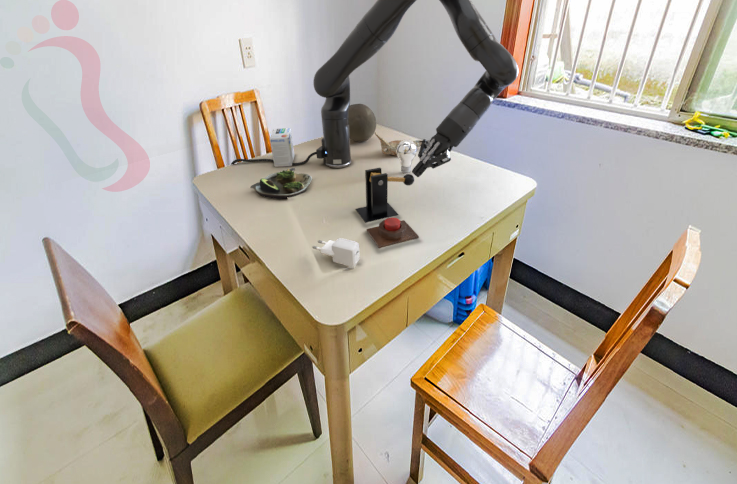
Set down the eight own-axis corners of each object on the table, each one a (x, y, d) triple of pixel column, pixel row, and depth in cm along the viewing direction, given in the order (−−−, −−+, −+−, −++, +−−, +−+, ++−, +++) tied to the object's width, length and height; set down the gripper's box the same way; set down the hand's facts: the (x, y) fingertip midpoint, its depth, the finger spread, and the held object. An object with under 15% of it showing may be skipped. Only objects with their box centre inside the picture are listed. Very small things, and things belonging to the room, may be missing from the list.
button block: (403, 224, 103) (404, 213, 101) (418, 241, 96) (419, 229, 94) (366, 233, 99) (366, 222, 97) (379, 251, 93) (379, 239, 91)
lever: (409, 182, 107) (412, 172, 106) (414, 187, 105) (417, 177, 103) (368, 181, 102) (370, 170, 100) (372, 186, 99) (375, 174, 98)
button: (396, 221, 98) (396, 216, 97) (402, 229, 95) (402, 223, 94) (382, 225, 97) (382, 219, 96) (388, 233, 94) (388, 227, 93)
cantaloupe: (351, 134, 163) (349, 98, 155) (381, 138, 158) (381, 101, 150) (336, 145, 153) (333, 107, 144) (368, 149, 148) (367, 111, 139)
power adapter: (311, 260, 90) (308, 240, 87) (321, 249, 94) (319, 230, 91) (353, 272, 87) (351, 251, 83) (361, 260, 90) (361, 240, 87)
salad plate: (273, 170, 134) (271, 158, 131) (320, 175, 130) (319, 162, 127) (246, 196, 118) (243, 183, 116) (298, 201, 115) (296, 188, 112)
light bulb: (415, 169, 132) (417, 136, 125) (415, 178, 126) (417, 144, 119) (396, 169, 132) (396, 136, 125) (395, 178, 127) (395, 143, 120)
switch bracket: (387, 205, 112) (387, 163, 104) (398, 218, 106) (399, 174, 98) (355, 212, 109) (353, 169, 101) (365, 225, 103) (364, 181, 95)
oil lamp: (370, 154, 144) (369, 128, 138) (417, 144, 151) (419, 119, 146) (380, 162, 138) (380, 135, 132) (429, 151, 145) (431, 126, 139)
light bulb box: (277, 156, 145) (272, 128, 139) (295, 155, 145) (291, 127, 139) (274, 167, 136) (269, 138, 130) (292, 166, 137) (288, 137, 130)
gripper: (437, 109, 104) (396, 158, 107) (464, 123, 94) (417, 177, 97) (451, 126, 108) (411, 172, 112) (478, 141, 98) (434, 191, 102)
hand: (414, 174), depth 105 cm, fingers closed
